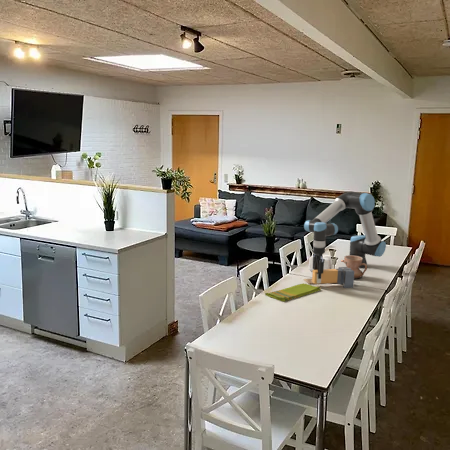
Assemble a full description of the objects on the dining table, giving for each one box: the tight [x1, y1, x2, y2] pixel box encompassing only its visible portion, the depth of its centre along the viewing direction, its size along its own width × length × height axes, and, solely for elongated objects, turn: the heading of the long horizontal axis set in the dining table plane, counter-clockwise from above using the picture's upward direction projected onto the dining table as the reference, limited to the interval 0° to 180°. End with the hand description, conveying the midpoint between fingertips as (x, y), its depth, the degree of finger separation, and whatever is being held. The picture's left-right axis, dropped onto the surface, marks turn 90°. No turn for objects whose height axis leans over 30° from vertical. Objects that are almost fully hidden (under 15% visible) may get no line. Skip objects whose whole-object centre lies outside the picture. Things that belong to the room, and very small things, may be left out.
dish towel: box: [264, 283, 322, 303], centre depth 284 cm, size 15×36×3 cm, turn 131°
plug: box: [311, 268, 341, 285], centre depth 298 cm, size 18×4×8 cm, turn 102°
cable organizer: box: [308, 254, 332, 273], centre depth 332 cm, size 15×11×12 cm
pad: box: [303, 277, 333, 285], centre depth 309 cm, size 20×10×1 cm, turn 102°
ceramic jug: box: [340, 254, 368, 280], centre depth 320 cm, size 18×14×14 cm
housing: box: [337, 266, 355, 289], centre depth 301 cm, size 6×10×12 cm, turn 12°
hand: (317, 281), depth 298 cm, fingers closed on plug, 4 cm apart
